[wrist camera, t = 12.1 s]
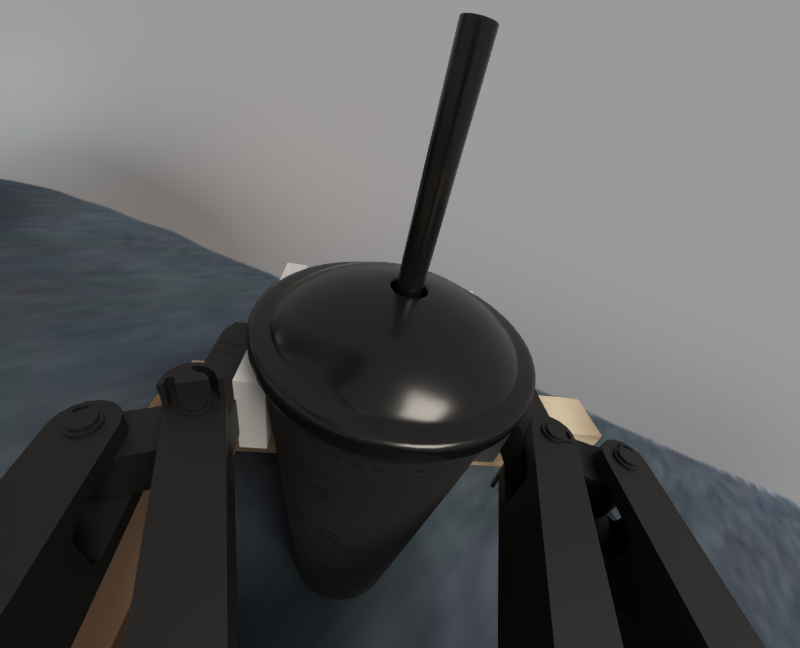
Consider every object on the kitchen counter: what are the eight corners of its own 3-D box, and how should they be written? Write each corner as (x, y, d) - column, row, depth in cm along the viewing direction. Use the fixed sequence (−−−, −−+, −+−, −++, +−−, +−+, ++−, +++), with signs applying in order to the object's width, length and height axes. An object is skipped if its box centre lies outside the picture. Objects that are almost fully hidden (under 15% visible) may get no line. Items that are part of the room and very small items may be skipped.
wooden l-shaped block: (-27, 836, 9) (-164, 857, 6) (201, 405, 21) (190, 346, 18) (711, 749, 13) (827, 738, 11) (551, 434, 26) (585, 389, 23)
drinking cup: (306, 452, 20) (344, 19, 9) (427, 493, 20) (628, 90, 8) (224, 606, 14) (-7, -214, 3) (398, 672, 13) (1053, 20, 2)
